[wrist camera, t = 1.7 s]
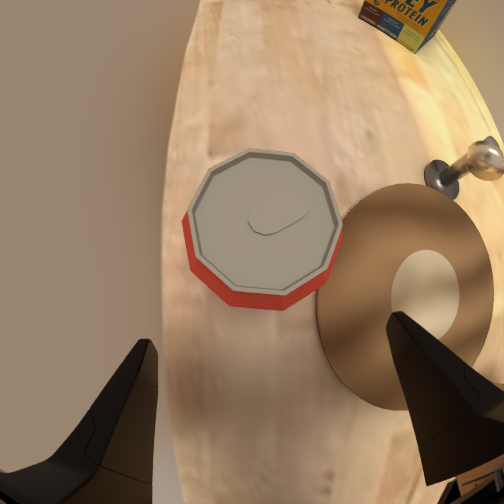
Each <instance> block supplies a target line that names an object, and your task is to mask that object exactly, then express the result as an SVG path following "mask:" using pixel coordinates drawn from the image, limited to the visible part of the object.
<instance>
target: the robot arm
mask: <svg viewBox="0 0 504 504" xmlns="http://www.w3.org/2000/svg"><path fill="white" fill-rule="evenodd" d="M386 334H387V338H388V342H389V346H390V350H391V354H392V359H393V362H394V366H395V369H396V372H397V375H398V378H399V381H400V384H401V387H402V390H403V394H404V397H405V400H406V403H407V407H408V410H409V414H410V417H411V421H412V425H413V428H414V432H415V436H416V440H417V444H418V449H419V453H420V457H421V462H422V467H423V472H424V477H425V482H426V486H429V485H432V484H435V483H439V482H441V481H444V480H447V479H450V478H453V477H456V478H455V479H454V480H452V481H450V482H449V483H447V486H446V488H445V490H444V492H443V494H442V496H441V498H440V499H439V501H438V503H437V504H504V391H503V390H501V389H500V388H499V387H497V386H496V385H494V384H493V383H492V382H490V381H489V380H487V379H486V378H485V377H483V376H482V375H481V374H479V373H478V372H477V371H475V370H474V369H473V368H472V367H470V366H469V365H468V364H467V363H466V362H465V361H463V360H462V359H461V358H460V357H459V356H457V355H456V354H455V353H454V352H453V351H451V350H450V349H449V348H448V347H447V346H445V345H444V344H443V343H442V342H441V341H439V340H438V339H437V338H436V337H434V336H433V335H432V334H431V333H429V332H428V331H427V330H426V329H424V328H423V327H422V326H421V325H419V324H418V323H417V322H416V321H414V320H413V319H412V318H411V317H409V316H408V315H407V314H405V313H404V312H403V311H395V312H392V313H391V315H390V317H389V320H388V322H387V324H386ZM157 400H158V353H157V350H156V348H155V346H154V345H153V343H152V341H151V340H150V339H139V340H138V341H137V343H136V344H135V345H134V347H133V348H132V350H131V351H130V352H129V354H128V355H127V356H126V358H125V359H124V361H123V362H122V363H121V365H120V366H119V367H118V369H117V370H116V371H115V373H114V374H113V376H112V377H111V378H110V380H109V381H108V383H107V384H106V385H105V387H104V389H103V390H102V391H101V393H100V394H99V396H98V397H97V398H96V400H95V401H94V403H93V404H92V406H91V407H90V409H89V410H88V411H87V413H86V414H85V416H84V417H83V418H82V420H81V421H80V423H79V424H78V425H77V427H76V428H75V429H74V430H73V432H72V433H71V434H70V435H69V437H68V438H67V439H66V440H65V441H64V442H63V444H62V445H61V446H60V447H59V448H58V449H57V451H56V452H55V453H54V454H53V455H52V456H51V457H49V458H48V459H46V460H45V461H42V462H40V463H37V464H35V465H32V466H29V467H26V468H24V469H20V470H18V471H15V472H11V473H7V472H5V471H3V470H1V469H0V504H152V477H153V476H152V475H153V452H154V435H155V422H156V409H157Z"/></svg>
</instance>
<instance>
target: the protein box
mask: <svg viewBox="0 0 504 504" xmlns="http://www.w3.org/2000/svg"><path fill="white" fill-rule="evenodd" d="M455 2H456V0H364V3H363V6H362V8H361V11H360V14H359V18H360V19H362V20H364V21H366V22H367V23H369V24H371V25H373V26H374V27H376V28H378V29H379V30H381V31H382V32H384V33H386V34H387V35H389V36H390V37H392V38H393V39H395V40H396V41H398V42H399V43H401V44H402V45H403V46H405V47H406V48H408V49H409V50H410V51H412V52H413V53H416V52H417V51H418V50H419V49H420V48H421V47H422V46H423V45H424V44H425V43H427V42H428V41H429V40H430V39H431V38H432V37H433V36H434V35H435V34H436V32H437V31H438V29H439V27H440V26H441V24H442V23H443V21H444V20H445V18H446V16H447V15H448V13H449V12H450V10H451V8H452V7H453V5H454V4H455Z"/></svg>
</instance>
